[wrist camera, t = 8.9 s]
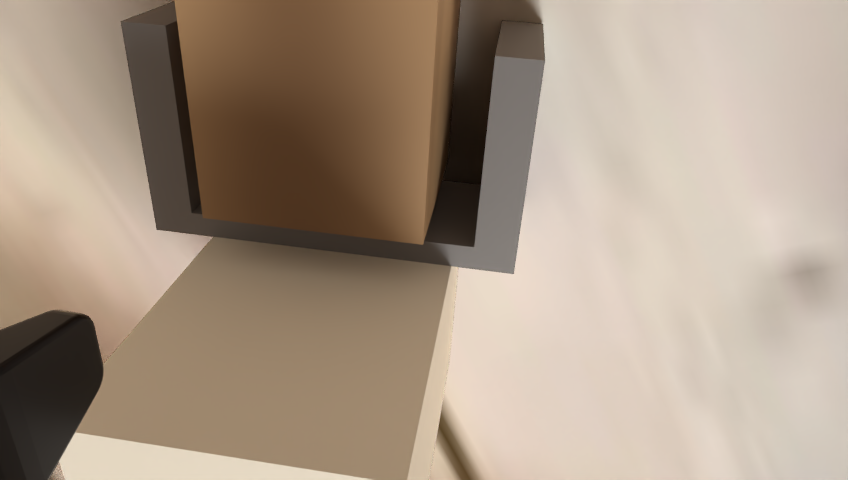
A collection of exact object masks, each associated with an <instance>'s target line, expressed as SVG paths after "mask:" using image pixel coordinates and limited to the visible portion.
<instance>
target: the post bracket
mask: <svg viewBox="0 0 848 480" xmlns="http://www.w3.org/2000/svg"><path fill="white" fill-rule="evenodd" d="M121 26H122V31H123V37H124V43H125V49H126V54H127V60H128V66H129V72H130V78H131V83H132V89H133V95H134V101H135V107H136V112H137V118H138V124H139V130H140V136H141V141H142V147H143V153H144V159H145V165H146V170H147V176H148V182H149V188H150V193H151V199H152V205H153V211H154V217H155V222H156V228H157V230H164V231H172V232H180V233H188V234H196V235H204V236H212V237H213V238H212V239H211V240H210V241H209V242H208V244H207V245H206V246H205V247H204V248H203V249H202V251H201V252H200V253H199V254H198V255H197V256H196V258H195V259H194V260H193V261H192V262H191V263H190V264H189V266H188V267H187V268H186V269H185V270H184V271H183V273H182V274H181V275H180V276H179V277H178V278H177V280H176V281H175V282H174V283H173V284H172V285H171V286H170V288H169V289H168V290H167V291H166V292H165V293H164V295H163V296H162V297H161V298H160V299H159V300H158V302H157V303H156V304H155V305H154V306H153V307H152V308H151V310H150V311H149V312H148V313H147V314H146V315H145V317H144V318H143V319H142V320H141V321H140V322H139V324H138V325H137V326H136V327H135V328H134V329H133V330H132V332H131V333H130V334H129V335H128V336H127V337H126V339H125V340H124V341H123V342H122V343H121V344H120V346H119V347H118V348H117V349H116V350H115V351H114V353H113V354H112V355H111V356H110V357H109V358H108V359H107V361H106V362H105V363H104V364H103V368H104V373H103V380H102V383H101V386H100V388H99V391H98V392H97V394H96V396H95V398H94V400H93V401H92V403H91V405H90V407H89V409H88V410H87V412H86V414H85V416H84V418H83V419H82V421H81V423H80V425H79V427H78V428H77V430H76V432H75V434H74V435H73V437H72V439H71V441H70V443H69V444H68V446H67V448H66V450H65V452H64V453H63V455H62V457H61V459H60V461H59V463H60V466H61V469H62V472H63V475H64V478H65V480H429V478H430V472H431V466H432V461H433V455H434V449H435V443H436V437H437V431H438V426H439V420H440V414H441V408H442V402H443V396H444V391H445V385H446V379H447V373H448V367H449V360H450V350H451V339H452V329H453V319H454V308H455V298H456V287H457V277H458V267H462V268H470V269H478V270H486V271H494V272H502V273H510V274H514V268H515V261H516V254H517V247H518V241H519V234H520V227H521V220H522V213H523V206H524V200H525V193H526V186H527V179H528V172H529V166H530V159H531V152H532V145H533V138H534V132H535V125H536V118H537V111H538V104H539V97H540V91H541V84H542V77H543V70H544V63H545V53H544V33H543V24H536V23H525V22H513V21H502V25H501V29H500V34H499V39H498V44H497V49H496V54H495V61H494V70H493V79H492V88H491V98H490V107H489V116H488V125H487V134H486V144H485V153H484V162H483V171H482V181H481V185H478V184H469V183H460V182H451V181H442V182H441V186H440V189H439V192H438V196H437V199H436V202H435V206H434V209H433V213H432V216H431V219H430V223H429V226H428V229H427V233H426V236H425V240H424V243H423V245H421V244H413V243H404V242H396V241H388V240H380V239H372V238H363V237H355V236H347V235H339V234H330V233H322V232H314V231H306V230H298V229H289V228H281V227H273V226H265V225H257V224H248V223H240V222H232V221H224V220H216V219H207V218H203V215H202V207H201V200H200V192H199V184H198V177H197V169H196V162H195V154H194V146H193V139H192V131H191V123H190V116H189V108H188V100H187V93H186V85H185V78H184V70H183V62H182V55H181V47H180V39H179V32H178V24H177V16H176V9H175V1H174V2H171V3H168V4H166V5H163V6H161V7H158V8H155V9H153V10H150V11H147V12H145V13H142V14H139V15H137V16H134V17H132V18H129V19H126V20H124V21H121Z"/></svg>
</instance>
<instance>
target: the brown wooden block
mask: <svg viewBox="0 0 848 480" xmlns="http://www.w3.org/2000/svg"><path fill="white" fill-rule="evenodd" d="M174 1H175V9H176V16H177V24H178V32H179V39H180V47H181V55H182V62H183V70H184V78H185V85H186V93H187V100H188V108H189V116H190V123H191V131H192V139H193V146H194V154H195V162H196V169H197V177H198V184H199V192H200V200H201V207H202V215H203V218H207V219H216V220H224V221H232V222H240V223H248V224H257V225H265V226H273V227H281V228H289V229H298V230H306V231H314V232H322V233H330V234H339V235H347V236H355V237H363V238H372V239H380V240H388V241H396V242H404V243H413V244H421V245H423V243H424V240H425V236H426V233H427V229H428V226H429V223H430V219H431V216H432V213H433V209H434V206H435V202H436V199H437V196H438V192H439V189H440V186H441V182H442V179H443V175H444V172H445V169H446V165H447V162H448V155H449V142H450V129H451V117H452V104H453V91H454V78H455V66H456V53H457V40H458V27H459V15H460V2H461V0H174Z"/></svg>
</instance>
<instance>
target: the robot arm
mask: <svg viewBox="0 0 848 480" xmlns="http://www.w3.org/2000/svg"><path fill="white" fill-rule="evenodd" d="M103 373H104V368H103V362H102V358H101V353H100V349H99V344H98V340H97V335H96V331H95V327H94V323H93V321H92V320H91V319H90V318H89V316H87V315H85V314H81V313H75V312H69V311H63V310H51V311H48V312H45V313H43V314H40V315H38V316H35V317H32V318H30V319H27V320H25V321H22V322H19V323H17V324H14V325H12V326H9V327H7V328H4V329H1V330H0V480H49V479H50V477H51V475H52V473H53V471H54V470H55V468H56V466H57V464H58V462H59V461H60V459H61V457H62V455H63V453H64V452H65V450H66V448H67V446H68V444H69V443H70V441H71V439H72V437H73V435H74V434H75V432H76V430H77V428H78V427H79V425H80V423H81V421H82V419H83V418H84V416H85V414H86V412H87V410H88V409H89V407H90V405H91V403H92V401H93V400H94V398H95V396H96V394H97V392H98V391H99V388H100V386H101V383H102V380H103Z"/></svg>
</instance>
